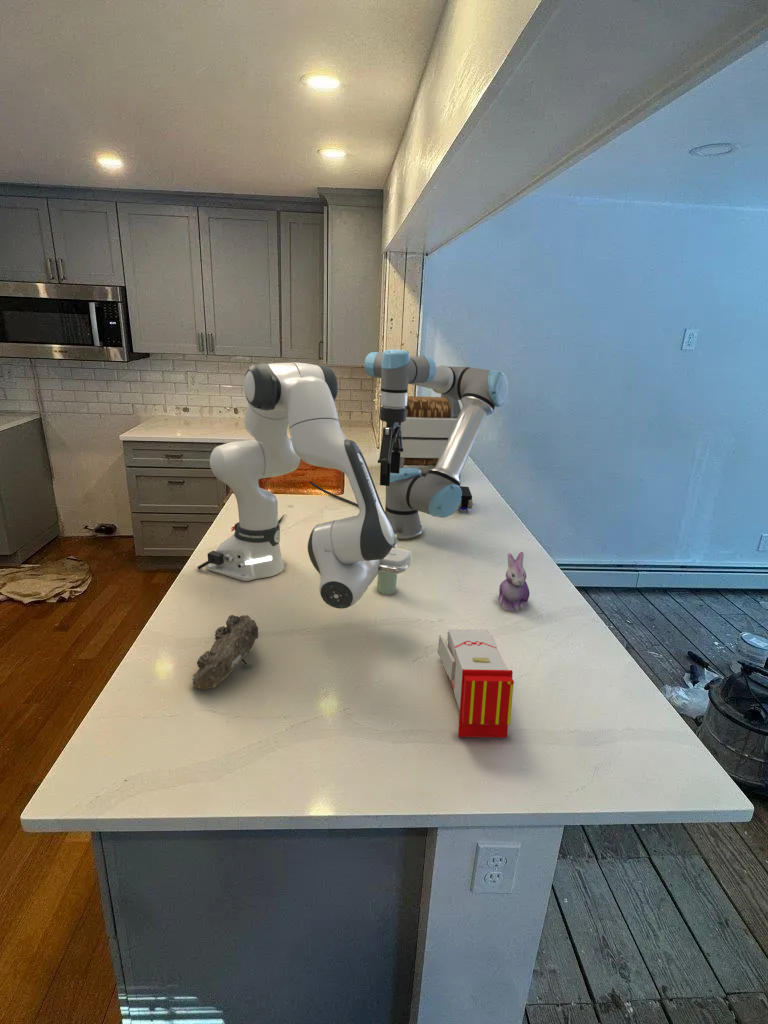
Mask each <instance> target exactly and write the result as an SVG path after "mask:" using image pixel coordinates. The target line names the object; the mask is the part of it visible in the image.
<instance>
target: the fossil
mask: <svg viewBox="0 0 768 1024" xmlns="http://www.w3.org/2000/svg"><path fill="white" fill-rule="evenodd" d="M258 639H259V627H258V625H257V622H256V621H255V619H252V618H251V617H250V616H249V615H248V614H244V615H243V614H242V615H240V616H238V615H235V614H230V615H228V617H227V620H226V621H225V626H224V625H223V626H219V627H217V628H216V629H215V631H214V642H213V644H212V645H211V648H210V649H209V650H207V651H205V652H204V653H203V654H201V655H200V656H199V657H198V659H197V661H196V666H197V668H198V670H197V671H196V672H195V673H193V675H192V676H193V678H192V683H193V688H195V689H198V690H200V691H203V690H207V689H211V688H212V689H214V688H216V687H217V686H218V685H219V684H220V683H221V682H222V681H224V680H225V679H226V678H227V677H228V676H229V675H230V674H231V673H232V672H233V671H234V670H236V668H237V667H238V664H239V663H241V662H242V663H243V664H244V665H245V666H248V665H249V664H248V662H247V661H246V659H244V658H245V656H246V655H247V654H249V653H250V652H251V650H252V649H253V646H254V645H255V643H256V641H257V640H258Z"/></svg>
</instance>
